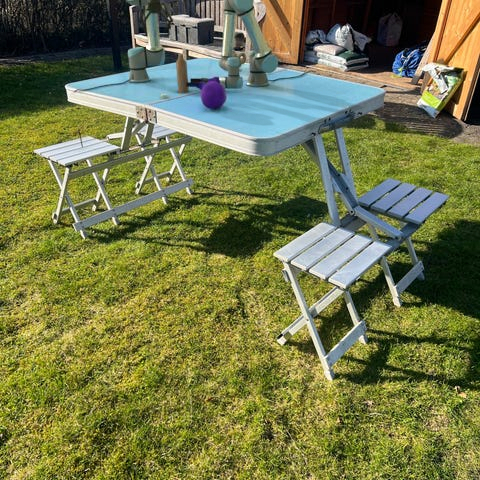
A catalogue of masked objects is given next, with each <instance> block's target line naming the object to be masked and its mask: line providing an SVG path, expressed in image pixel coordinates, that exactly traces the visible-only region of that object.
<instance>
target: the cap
mask: <svg viewBox="0 0 480 480" xmlns="http://www.w3.org/2000/svg"><path fill="white" fill-rule="evenodd" d="M160 98H161V99H167V98H168V94H167V93H162V94H160Z"/></svg>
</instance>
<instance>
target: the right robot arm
mask: <svg viewBox="0 0 480 480" xmlns="http://www.w3.org/2000/svg"><path fill="white" fill-rule="evenodd" d="M254 2H255V0H224V4H223V13H224V24H223V33H222V43H221V44H222V45H221V54H220V55H221V56H220V58H219V60H218V67H219V68H221V69H222V70H223V71H227V76H217V77H218V78H219V79H220V84H221V85H223V87H224V88H225V90H226V89H227V90H228V89H229V90H230V89H231V90H238V89H239V90H241V89H243V85H244V78H243V77H242V76H240V68H239V58H237V57H232V55H233V51H234V44H235V36H236V35H235V34H236V25H237V18H240V19H241V22H242V24H243V27H244V28H245V31H246V33H247V36H248V39H249V41H250V43H251V45H252V48H253V50H250V51H249V56H248V59H249V60H248V61H249V74H248V78H247V81H246V85H247V86H248V87H253V88H254V87H256V88H257V87H259V88H261V87H266V86H269V82H275V81H278V80H288V79H295V78H299V77H302V76H303V75H305V74H308V73H311V72H313V73H316V71H315V70H309V71H305V72H303V73H302V74H299V75H296V76H291V77H280V78H276V79H269V78H268V75H267V74H272V73H274V72H275V71H276V70H277V69H278V65H279V60H278V59H279V58H278V56H276V55H275V54H274V53H273V51H272V48H271V47H268V45H267V42H266V40H265V37H264V34H263V32H262V29H261V27H260V25H259V22H258V20H257V17H256V15H255V12H254V11H255V6H254ZM209 79H210V78H208V77H201V78H200V77H199V78H197V77H196V78H195V77H193V78H192V77H190V81H188V82H186V87H189V88H196V89H198V88H197V87H195V86H193V85H191V84H189V82H203V83H207V82H208V80H209Z"/></svg>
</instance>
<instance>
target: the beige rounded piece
mask: <svg viewBox="0 0 480 480" xmlns="http://www.w3.org/2000/svg"><path fill="white" fill-rule="evenodd" d="M232 57H237V58H239V69H240V68H241V67H242V65H244V64H245V63H246V61H247V56H246V53H245V52H243V51H242V52H239V54H237V53H236V52H235V50H233V55H232ZM241 58H242V59H241Z"/></svg>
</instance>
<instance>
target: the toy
mask: <svg viewBox="0 0 480 480" xmlns="http://www.w3.org/2000/svg"><path fill="white" fill-rule="evenodd" d="M218 77H219V76H213V77H211V78H209V80H208V82H207V83H203V82H191V81H188V82H189V84H191V85H193V86H195V87H194V88H196V87H197V88H196V89H199V90H201V91H200V100H201V103H202V105H203V106H204V107H205V108H207V109H209V110H213V111H214V110H220V108H222V107H223V106H224V105H225V103H226V101H227V91H226V89H225V88H224V87H223V85H221V84H220V79H219V78H220V77H219V78H218Z"/></svg>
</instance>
